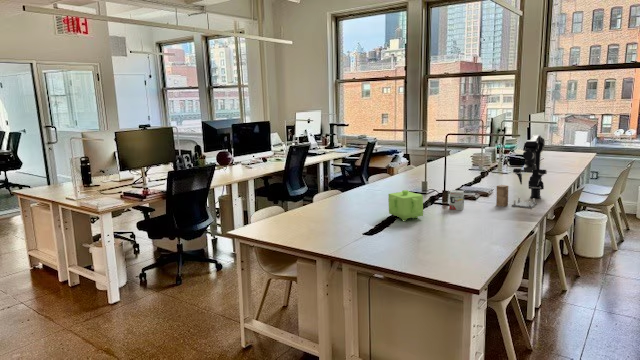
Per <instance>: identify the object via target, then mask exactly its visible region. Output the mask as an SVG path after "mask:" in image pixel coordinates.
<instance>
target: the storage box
mask: <svg viewBox="0 0 640 360" xmlns="http://www.w3.org/2000/svg"><path fill="white" fill-rule="evenodd" d="M387 196H388V213H389V215H392V216H393V217H394V216H397V217H399V218H398V219H400V220H401V219H402V220H407V221H408V219H413V218H418V217H424V196H423V194H421V193H415V192H412V191H409V190H407V189H406V190H405V189H404V190H402V191H399V192H392V193H388V195H387ZM418 219H419V218H418Z"/></svg>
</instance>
